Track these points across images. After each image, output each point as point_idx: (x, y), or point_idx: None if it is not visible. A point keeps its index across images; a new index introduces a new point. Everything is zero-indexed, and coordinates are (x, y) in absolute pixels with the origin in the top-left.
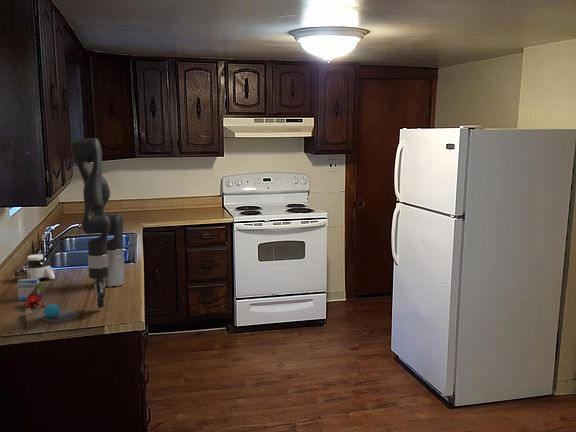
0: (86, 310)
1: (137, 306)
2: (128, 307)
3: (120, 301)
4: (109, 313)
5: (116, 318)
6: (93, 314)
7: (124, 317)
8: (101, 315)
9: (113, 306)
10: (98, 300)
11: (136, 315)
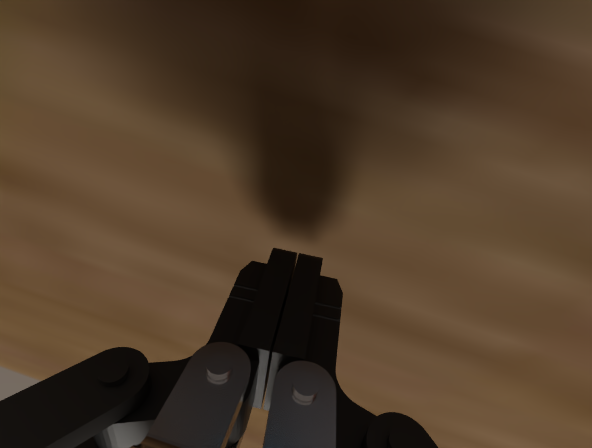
0: (442, 110)
1: (246, 444)
2: (257, 410)
3: (456, 440)
4: (171, 271)
5: (13, 263)
6: (211, 135)
7: (27, 311)
8: (138, 195)
9: (359, 364)
10: (246, 331)
11: (54, 372)
